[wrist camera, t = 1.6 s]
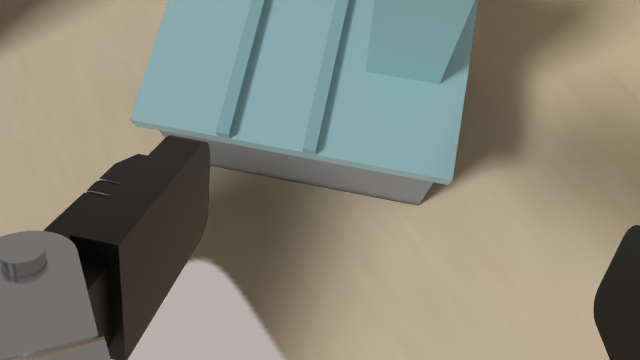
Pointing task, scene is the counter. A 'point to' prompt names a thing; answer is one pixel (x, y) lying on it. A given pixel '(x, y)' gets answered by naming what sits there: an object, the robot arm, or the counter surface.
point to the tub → (315, 172)
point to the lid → (316, 79)
